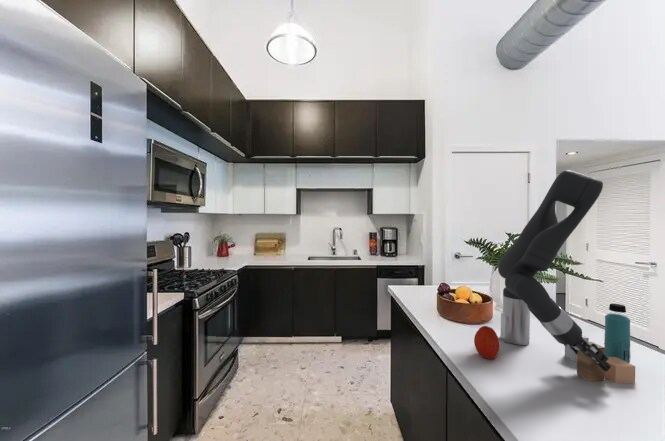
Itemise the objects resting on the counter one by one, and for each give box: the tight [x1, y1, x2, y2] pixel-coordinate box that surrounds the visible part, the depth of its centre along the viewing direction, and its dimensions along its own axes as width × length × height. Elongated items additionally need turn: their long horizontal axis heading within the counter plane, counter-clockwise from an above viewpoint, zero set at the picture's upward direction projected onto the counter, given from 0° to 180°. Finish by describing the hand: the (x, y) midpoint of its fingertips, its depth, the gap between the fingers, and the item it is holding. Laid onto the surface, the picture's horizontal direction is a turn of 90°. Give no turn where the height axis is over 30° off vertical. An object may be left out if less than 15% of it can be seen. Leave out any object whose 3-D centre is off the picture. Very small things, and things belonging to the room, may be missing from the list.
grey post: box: [564, 334, 590, 363], centre depth 107 cm, size 4×4×8 cm
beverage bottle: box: [603, 303, 632, 364], centre depth 102 cm, size 6×7×20 cm
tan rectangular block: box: [576, 341, 605, 383], centre depth 94 cm, size 4×4×10 cm
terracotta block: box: [604, 357, 636, 384], centre depth 94 cm, size 6×6×5 cm
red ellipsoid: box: [473, 325, 501, 360], centre depth 107 cm, size 8×8×11 cm
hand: (595, 362), depth 94 cm, fingers open, 7 cm apart
